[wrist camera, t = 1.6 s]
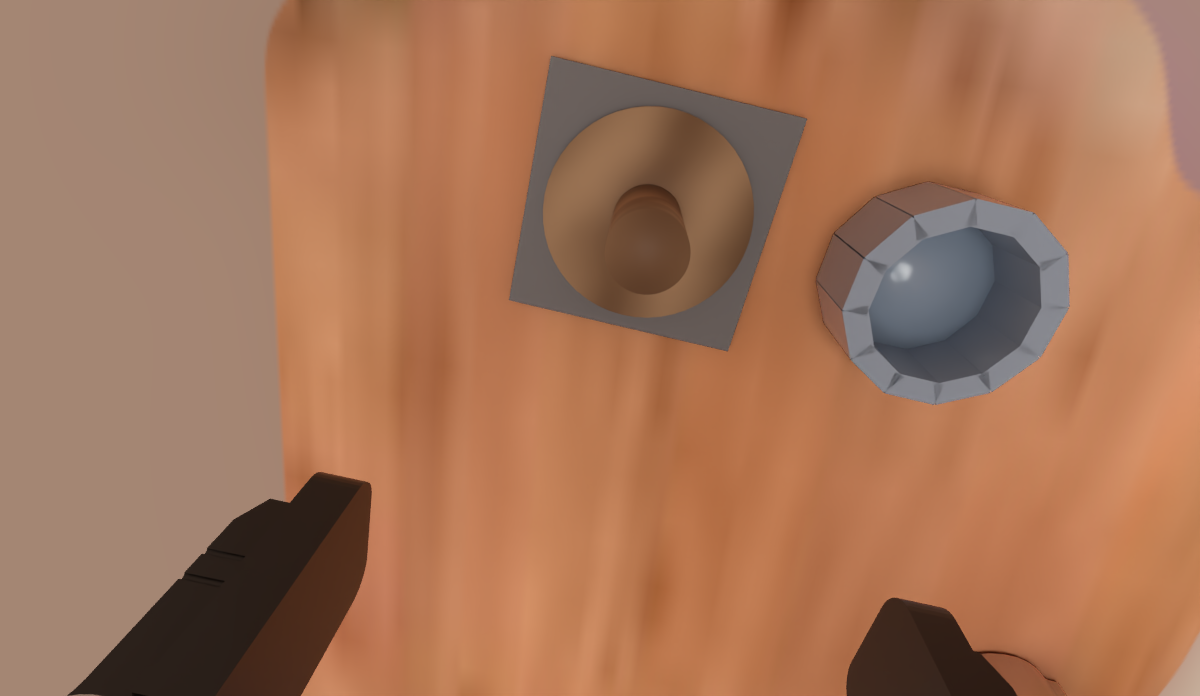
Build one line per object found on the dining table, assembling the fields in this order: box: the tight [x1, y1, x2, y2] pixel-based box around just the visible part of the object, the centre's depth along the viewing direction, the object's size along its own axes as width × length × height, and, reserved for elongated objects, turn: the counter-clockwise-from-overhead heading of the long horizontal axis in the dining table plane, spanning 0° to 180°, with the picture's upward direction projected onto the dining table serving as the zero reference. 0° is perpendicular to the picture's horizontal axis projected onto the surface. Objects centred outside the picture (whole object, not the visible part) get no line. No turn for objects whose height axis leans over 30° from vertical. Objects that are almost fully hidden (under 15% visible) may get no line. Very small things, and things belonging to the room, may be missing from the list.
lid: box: [543, 106, 754, 318], centre depth 29 cm, size 11×11×8 cm
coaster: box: [509, 56, 807, 351], centre depth 33 cm, size 13×13×1 cm
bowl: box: [816, 182, 1069, 405], centre depth 31 cm, size 10×10×5 cm
